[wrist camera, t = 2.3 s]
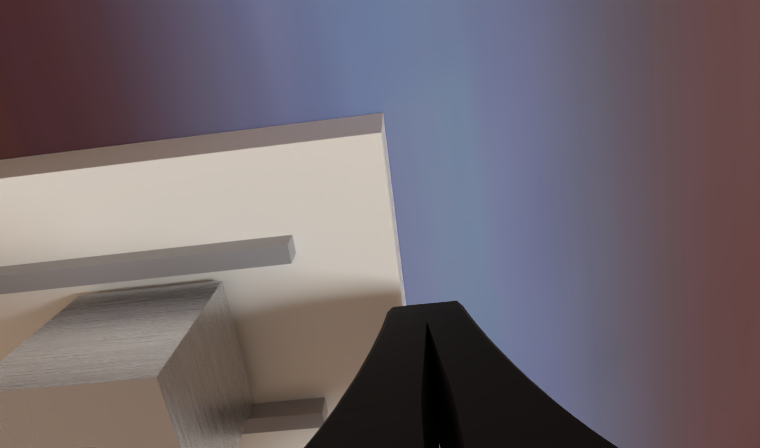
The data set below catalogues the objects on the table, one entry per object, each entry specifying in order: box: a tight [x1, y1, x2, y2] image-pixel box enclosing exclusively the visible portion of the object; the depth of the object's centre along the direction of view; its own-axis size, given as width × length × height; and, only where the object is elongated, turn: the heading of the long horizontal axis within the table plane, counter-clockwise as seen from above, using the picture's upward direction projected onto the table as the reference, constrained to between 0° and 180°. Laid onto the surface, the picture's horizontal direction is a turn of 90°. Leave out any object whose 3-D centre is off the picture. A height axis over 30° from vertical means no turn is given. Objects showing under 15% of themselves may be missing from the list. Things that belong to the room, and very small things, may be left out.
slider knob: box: [0, 281, 254, 448], centre depth 9 cm, size 3×3×3 cm
